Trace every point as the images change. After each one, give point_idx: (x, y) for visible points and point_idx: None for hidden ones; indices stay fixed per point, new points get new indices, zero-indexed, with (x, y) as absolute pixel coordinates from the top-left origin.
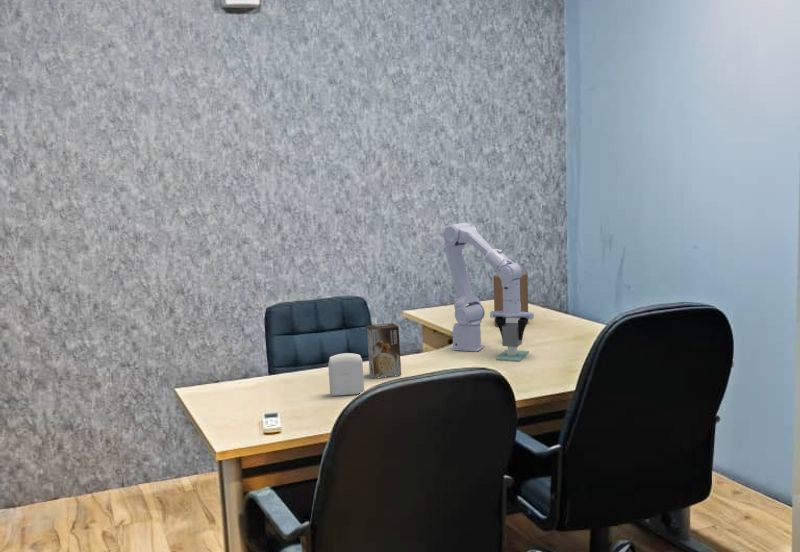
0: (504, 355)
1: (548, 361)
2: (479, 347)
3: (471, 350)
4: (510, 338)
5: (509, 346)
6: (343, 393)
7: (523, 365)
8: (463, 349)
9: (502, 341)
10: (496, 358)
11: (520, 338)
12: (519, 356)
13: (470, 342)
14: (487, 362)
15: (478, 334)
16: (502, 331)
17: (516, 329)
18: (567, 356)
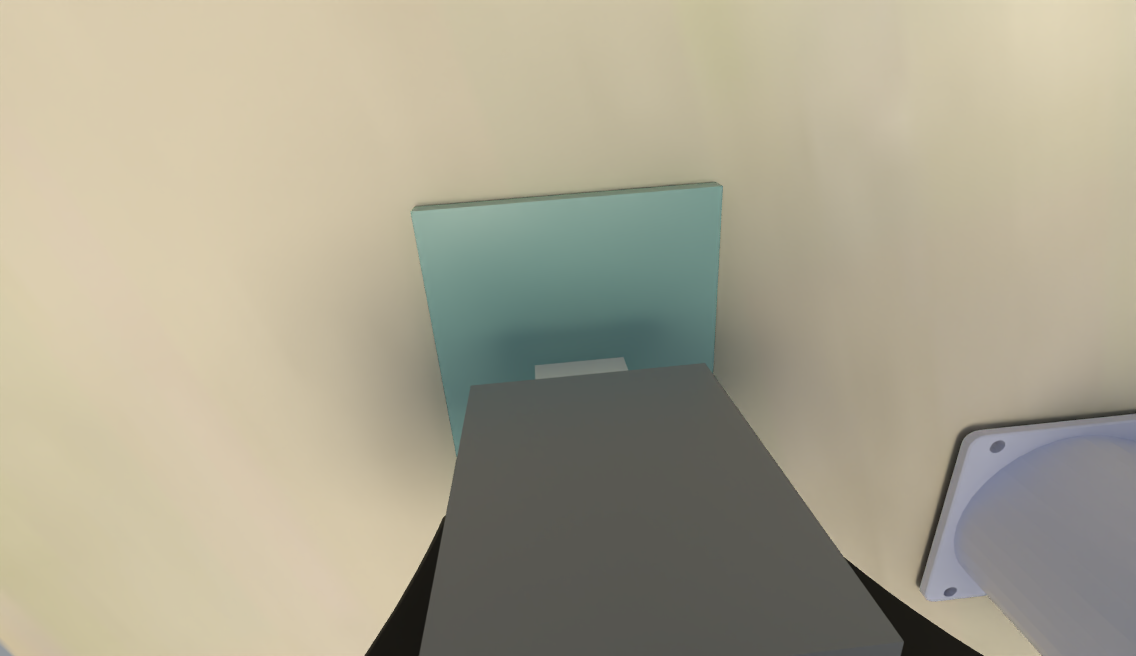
0: (658, 343)
1: (102, 328)
2: (969, 513)
3: (1036, 427)
4: (595, 449)
5: (599, 373)
6: None
7: (274, 33)
8: (1123, 423)
9: (730, 399)
10: (716, 187)
11: (442, 531)
12: (477, 356)
13: (1123, 492)
14: (799, 36)
15: (1106, 626)
16: (811, 524)
17: (444, 626)
18: (58, 553)
